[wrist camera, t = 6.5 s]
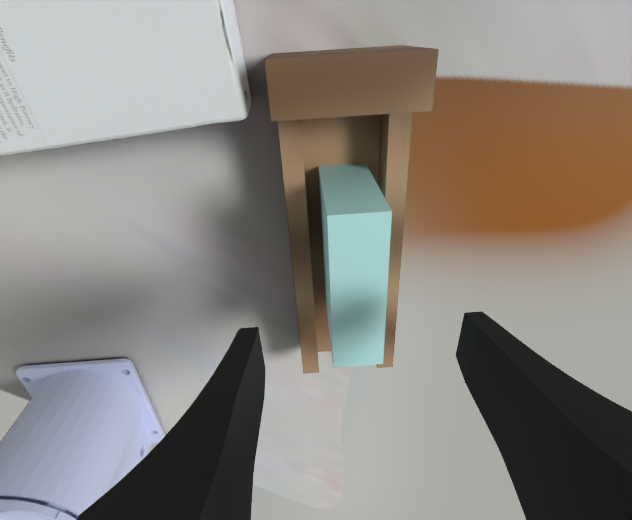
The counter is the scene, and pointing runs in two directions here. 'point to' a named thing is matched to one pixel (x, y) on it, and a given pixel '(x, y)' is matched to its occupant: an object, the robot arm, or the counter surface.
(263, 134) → the counter surface
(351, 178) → the door panel
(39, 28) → the skincare box
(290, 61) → the track
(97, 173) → the counter surface
